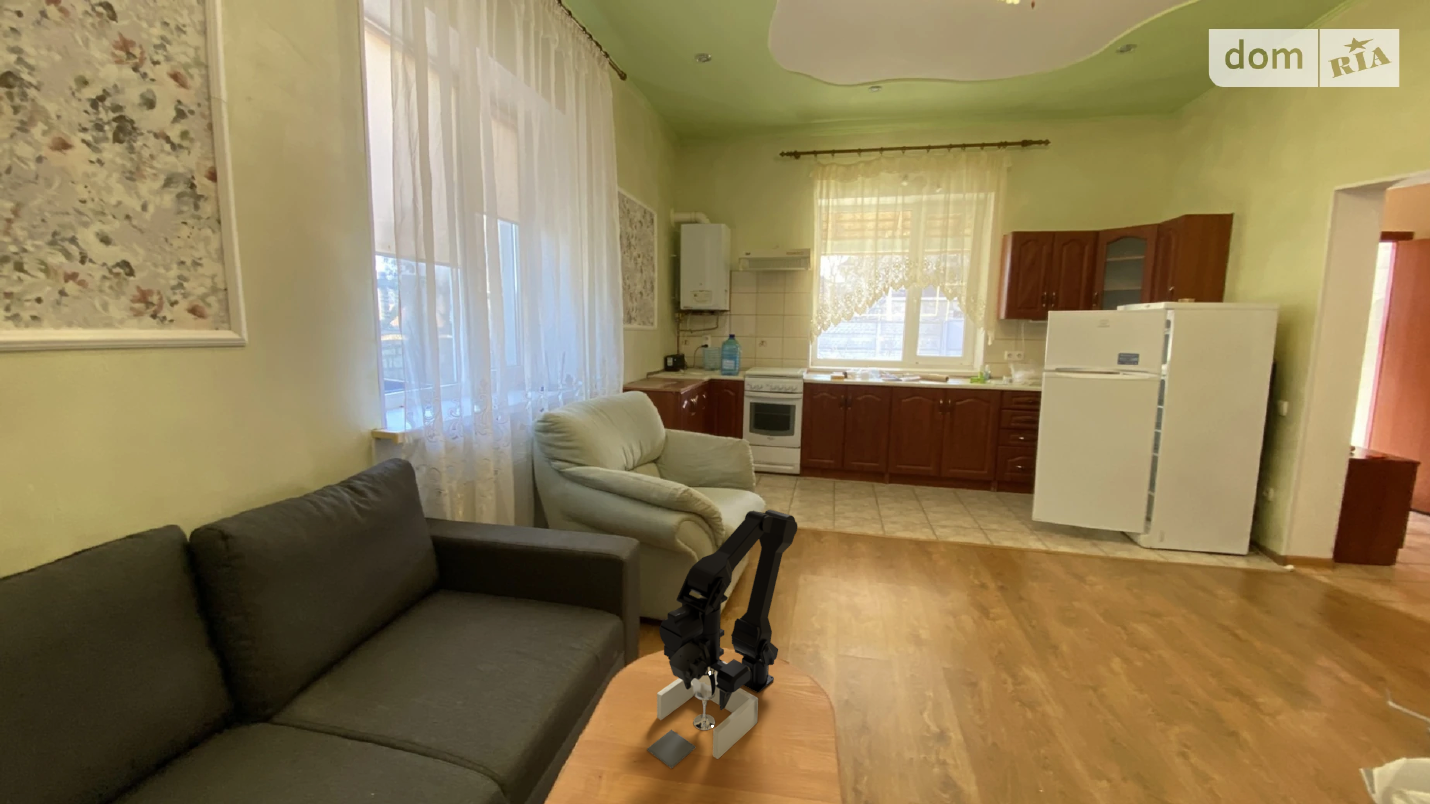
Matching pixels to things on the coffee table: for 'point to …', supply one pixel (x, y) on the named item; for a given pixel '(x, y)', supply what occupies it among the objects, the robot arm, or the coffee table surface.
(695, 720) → the wineglass
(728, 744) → the corner wall
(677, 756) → the felt mat
